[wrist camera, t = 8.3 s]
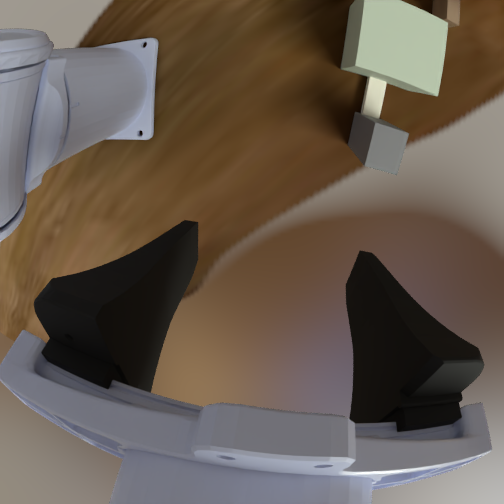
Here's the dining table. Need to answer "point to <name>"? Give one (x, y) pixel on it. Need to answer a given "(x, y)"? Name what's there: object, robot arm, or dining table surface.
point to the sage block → (390, 70)
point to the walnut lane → (447, 11)
